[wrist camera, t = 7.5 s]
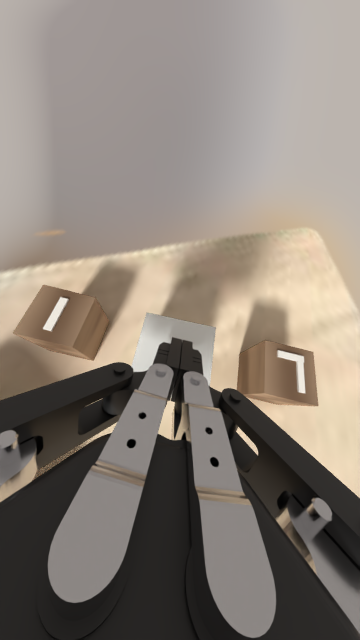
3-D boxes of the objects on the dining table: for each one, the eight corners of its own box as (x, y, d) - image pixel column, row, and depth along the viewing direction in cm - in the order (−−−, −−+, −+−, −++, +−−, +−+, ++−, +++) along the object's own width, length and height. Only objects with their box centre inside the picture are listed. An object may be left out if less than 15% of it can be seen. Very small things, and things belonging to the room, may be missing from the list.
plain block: (135, 391, 20) (125, 386, 13) (148, 340, 23) (146, 312, 15) (188, 401, 21) (207, 403, 13) (196, 349, 23) (215, 327, 16)
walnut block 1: (49, 350, 21) (10, 332, 15) (70, 310, 23) (43, 281, 17) (93, 360, 21) (71, 346, 15) (109, 320, 23) (95, 294, 17)
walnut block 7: (236, 394, 22) (265, 393, 16) (239, 352, 24) (266, 337, 18) (276, 404, 22) (320, 406, 16) (276, 361, 24) (314, 349, 18)
